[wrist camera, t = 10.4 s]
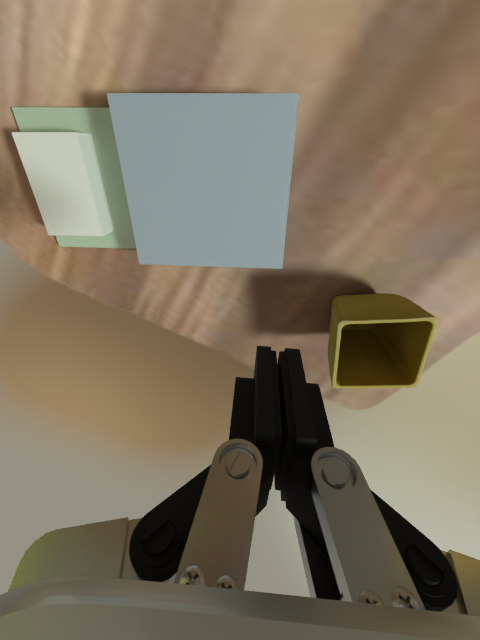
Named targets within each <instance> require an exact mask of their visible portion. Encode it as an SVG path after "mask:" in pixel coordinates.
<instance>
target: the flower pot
mask: <svg viewBox="0 0 480 640" xmlns="http://www.w3.org/2000/svg"><path fill="white" fill-rule="evenodd" d="M352 324H356V325H352ZM436 327H437V318H436V317H434V316H433V315H431V314H430V313H428V312H427V311H425V310H424V309H422V308H421V307H420V306H418V305H417V304H415V303H414V302H412V301H410V300H409V299H407V298H405V297H402V296H399V295H394V294H360V295H340V296H336V297H335V298H334V299H333V301H332V309H331V323H330V335H329V344H328V360H329V368H330V376H331V383H332V387H333V388H345V389H357V388H408V387H416V386H417V384H418V382H419V380H420V377H421V373H422V370H423V367H424V364H425V360H426V357H427V354H428V351H429V348H430V345H431V342H432V339H433V336H434V334H435V330H436Z"/></svg>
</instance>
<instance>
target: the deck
mask: <svg viewBox="0 0 480 640" xmlns="http://www.w3.org/2000/svg"><path fill="white" fill-rule="evenodd" d="M107 98H108V103H109V108H110V113H111V119H112V124H113V129H114V134H115V139H116V145H117V150H118V155H119V160H120V165H121V171H122V176H123V181H124V186H125V191H126V197H127V202H128V207H129V212H130V217H131V223H132V228H133V233H134V238H135V243H136V249H137V254H138V259H139V264H155V265H185V266H215V267H245V268H275V269H282V265H283V255H284V244H285V234H286V224H287V213H288V203H289V192H290V182H291V172H292V161H293V151H294V140H295V130H296V120H297V109H298V99H299V93H107Z"/></svg>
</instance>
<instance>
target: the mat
mask: <svg viewBox="0 0 480 640" xmlns="http://www.w3.org/2000/svg"><path fill="white" fill-rule="evenodd" d="M12 110H13V113H14V116H15V119H16V122H17V125H18V127H19V130H20V132H80V133H89V134H92V138H93V142H94V146H95V151H96V155H97V159H98V163H99V168H100V172H101V176H102V180H103V185H104V189H105V193H106V197H107V202H108V206H109V210H110V215H111V219H112V223H113V227H114V231H112V232H110V233H108V234H106V235H105V236H71V235H55V236H56V239H57V242H58V244H59V246H67V247H100V248H133V249H136V243H135V238H134V233H133V228H132V223H131V217H130V212H129V207H128V202H127V197H126V191H125V186H124V181H123V176H122V171H121V165H120V160H119V155H118V150H117V145H116V139H115V134H114V129H113V124H112V119H111V113H110V108H67V107H12Z"/></svg>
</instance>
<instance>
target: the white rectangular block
mask: <svg viewBox="0 0 480 640" xmlns="http://www.w3.org/2000/svg"><path fill="white" fill-rule="evenodd" d="M11 133H12V136H13V138H14V141H15V144H16V147H17V149H18V152H19V155H20V158H21V160H22V163H23V166H24V169H25V171H26V174H27V177H28V180H29V183H30V185H31V188H32V191H33V194H34V196H35V199H36V202H37V205H38V207H39V210H40V213H41V216H42V218H43V221H44V224H45V227H46V230H47V232H48V235H71V236H105V235H106V234H108V233H110V232H112V231H114V227H113V223H112V219H111V215H110V210H109V206H108V202H107V197H106V193H105V189H104V185H103V180H102V176H101V172H100V168H99V163H98V159H97V155H96V151H95V146H94V142H93V138H92V134H89V133H80V132H11Z"/></svg>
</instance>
